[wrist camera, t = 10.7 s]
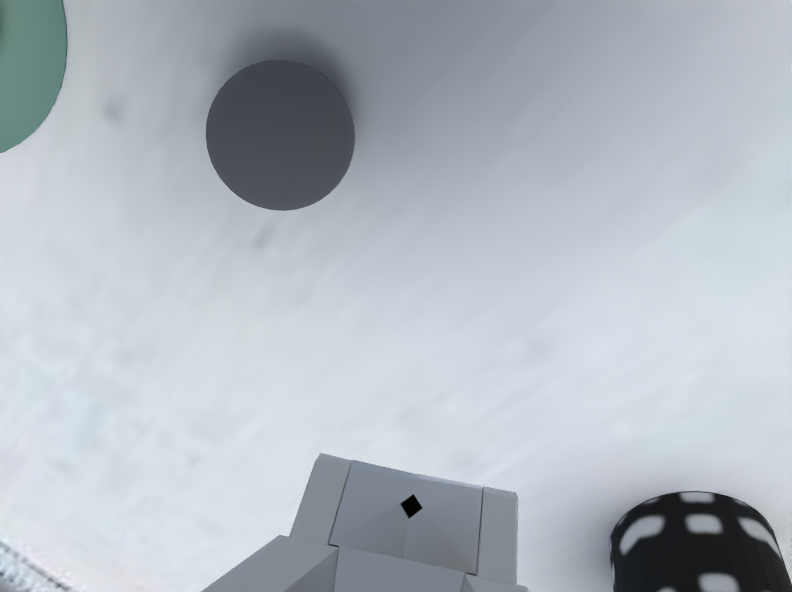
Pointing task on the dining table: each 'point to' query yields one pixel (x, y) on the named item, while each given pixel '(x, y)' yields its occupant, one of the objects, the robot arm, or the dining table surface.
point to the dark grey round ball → (280, 135)
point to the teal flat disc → (29, 65)
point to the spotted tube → (696, 547)
